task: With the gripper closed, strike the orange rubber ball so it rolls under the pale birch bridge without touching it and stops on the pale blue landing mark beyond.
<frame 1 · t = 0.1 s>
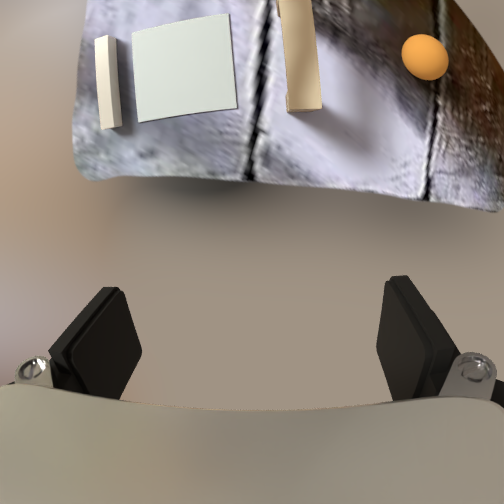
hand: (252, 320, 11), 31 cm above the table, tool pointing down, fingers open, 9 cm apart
ball: (425, 57, 29), on the table
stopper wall: (112, 82, 36), on the table
bridge: (294, 54, 33), on the table
landing mark: (181, 66, 35), on the table
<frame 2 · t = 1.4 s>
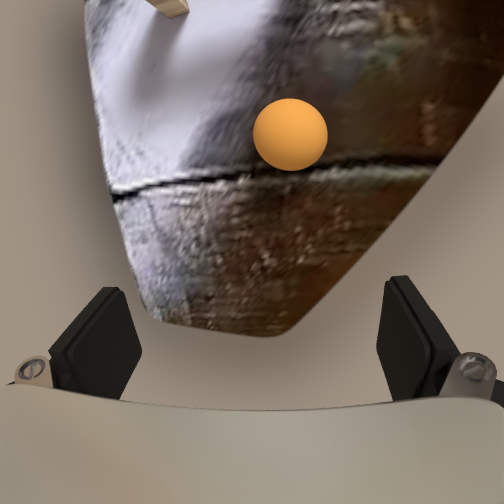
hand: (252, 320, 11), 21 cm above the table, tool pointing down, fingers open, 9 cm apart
ball: (290, 134, 25), on the table
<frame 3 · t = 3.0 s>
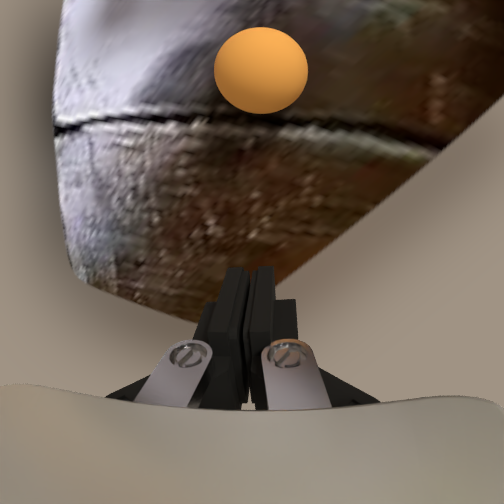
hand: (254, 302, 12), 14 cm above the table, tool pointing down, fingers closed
ball: (260, 70, 18), on the table
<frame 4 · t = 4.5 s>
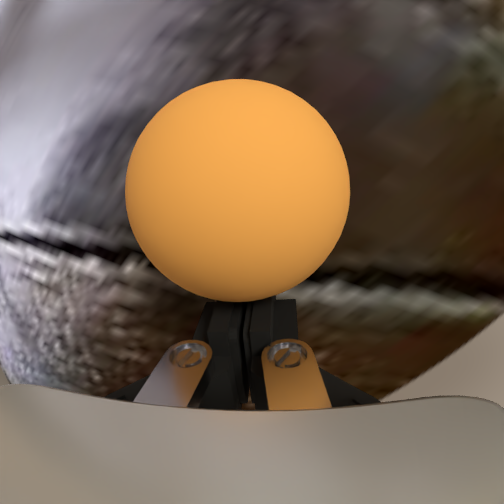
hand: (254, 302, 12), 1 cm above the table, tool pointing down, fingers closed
ball: (237, 189, 9), on the table
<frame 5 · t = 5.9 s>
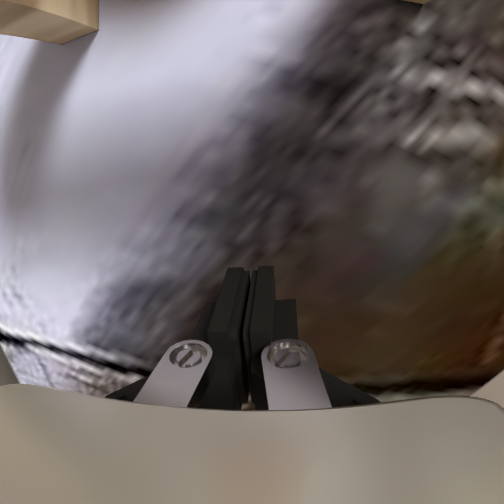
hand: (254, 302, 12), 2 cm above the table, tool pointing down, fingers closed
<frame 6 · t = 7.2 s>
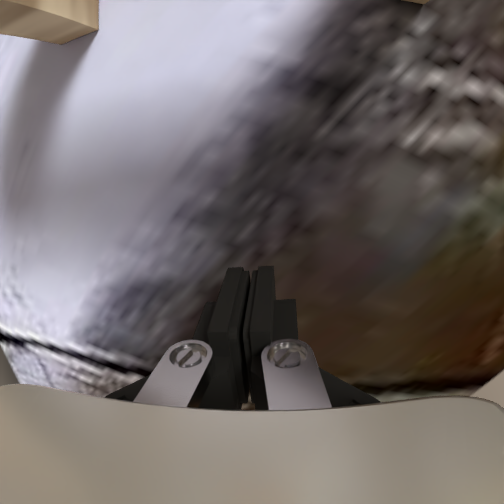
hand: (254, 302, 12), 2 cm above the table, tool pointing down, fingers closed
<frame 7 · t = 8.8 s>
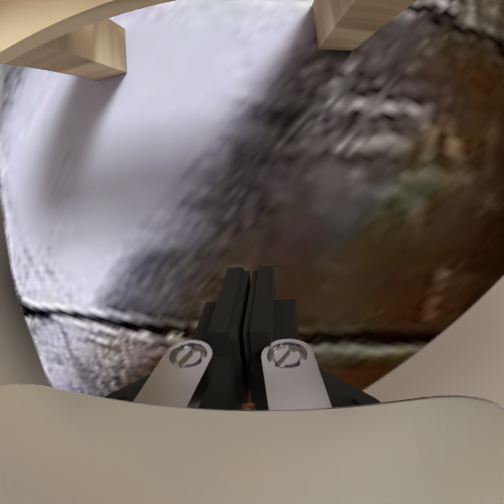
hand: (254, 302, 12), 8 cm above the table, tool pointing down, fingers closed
bridge: (216, 32, 15), on the table
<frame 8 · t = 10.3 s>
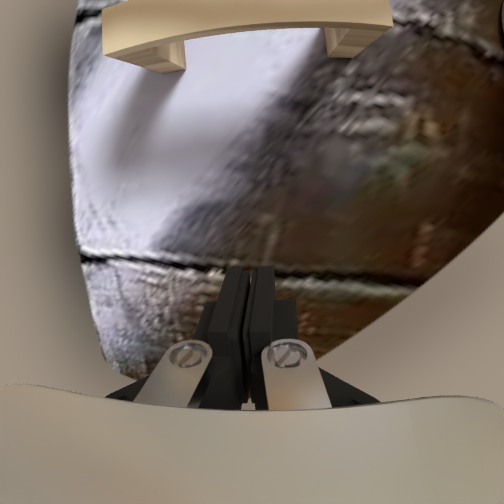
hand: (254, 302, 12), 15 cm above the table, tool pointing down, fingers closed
bridge: (254, 42, 21), on the table
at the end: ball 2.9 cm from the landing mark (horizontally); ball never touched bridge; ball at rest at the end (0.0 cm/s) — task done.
